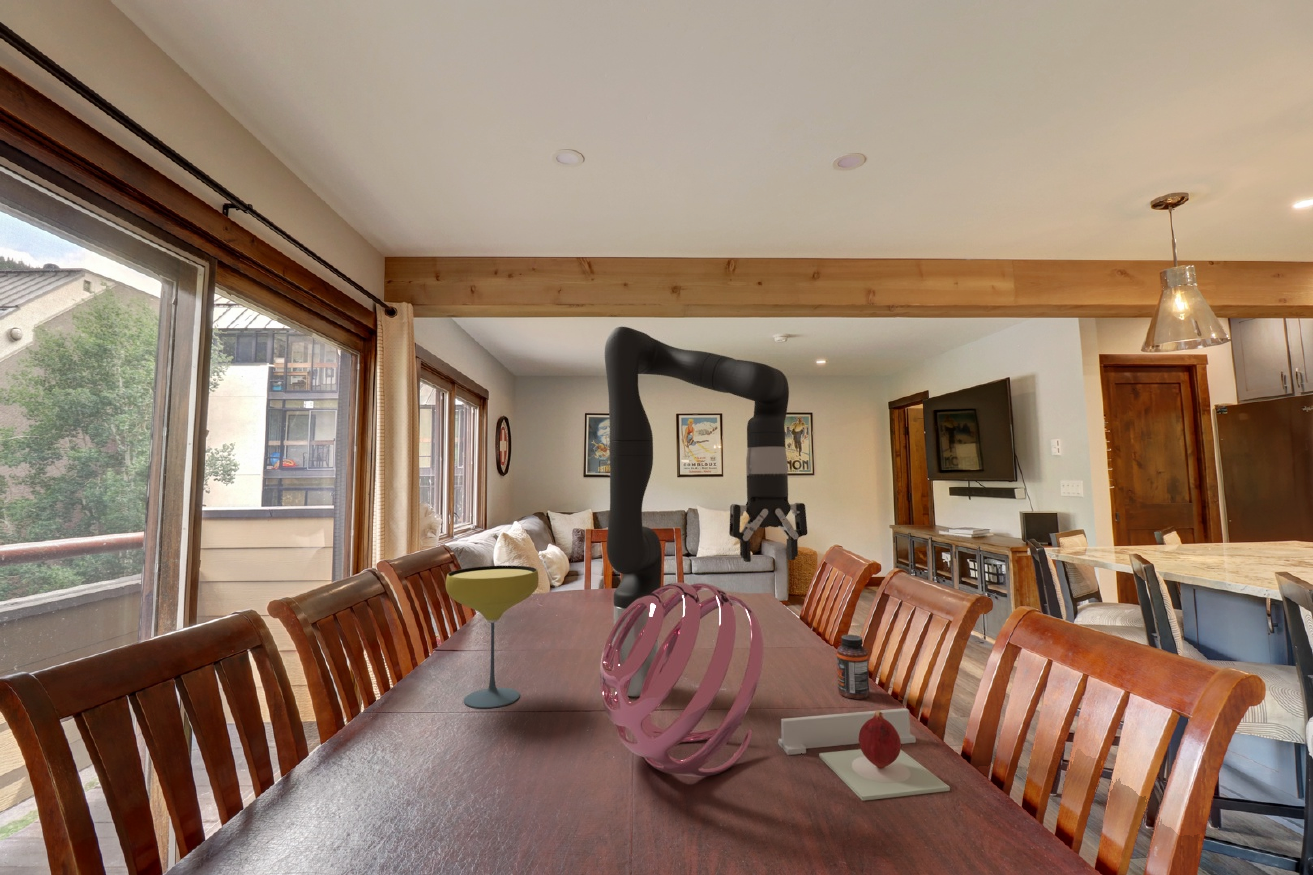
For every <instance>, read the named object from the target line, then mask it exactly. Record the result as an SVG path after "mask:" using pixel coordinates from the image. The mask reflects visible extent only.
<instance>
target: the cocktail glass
mask: <svg viewBox="0 0 1313 875" xmlns="http://www.w3.org/2000/svg"><path fill="white" fill-rule="evenodd" d="M539 578H540V577H539V571H538V569H537V568H535V567H531V566H526V565H525V566H524V565H486V566H475V567H473V566H472V567H467V568H461V569H456V570H453V571H450V572H448V573H447V575H446V578H445V590H446V593H447V595H448V596H449V597H450V598H451V599H452V600H453V601H455V602H457V603H458V604H461V605H463V606H465V607H467V608H469V609H471V610H474V611H476V612H478V613H479V614H481V615H482V616H483V618H484V619H485V620H486V622H488V623H490V627H491V628H490V630H491V631H490V669H489V670H490V672H489V673H490V674H489V675H490V676H489V683H488V688H483V689H479V690H477V691H473V692H471V693H470V694H467V695H466V696H465V697H464V698H463V703H464V705H466V706H467V707H469V706H471V707H470V708H473V707H474V709H485V710H486V709H495V708H501V707H504V706H508V705H511V704H513V703H515V702H516V701H518V700H519V699H520V696H521V693H520V691H519V690H516V689H514V688H509V687H497V685H496V680H495V678H496V677H495V623H497V622H498V621H499V620H500V619H501V618H502V616H503V614H504V613H505V612H506V611H508V610H510V609H511V608H513V607H514V606H516V605H518V604H520V603H522V602H523V601H525V600H526V599H528V598H529V597H531V596H532V594H534V593H535V591H536V590H537V589H538V586H539Z"/></svg>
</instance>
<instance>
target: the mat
mask: <svg viewBox="0 0 1313 875" xmlns="http://www.w3.org/2000/svg"><path fill="white" fill-rule="evenodd" d="M818 756H819V757H818V758H820V760H822V761H823V762H824V763H825V764H826V765H827V766H828V767H829V768H830V769H831V771H833V772H834V773H835V774H836V775H837V776H838V777H839V778H840V779H841V781H842V782H843V783H845V785H847V787H848V788H849V789H850V790H852V792H853V793H854V794H855V795H857V797H858V798H859V799H860V800H861V801H862V802H863V801H873V800H879V799H880V800H881V799H889V798H899V797H907V796H915V795H923V794H932V793H933V794H934V793H941V792H943V793H944V792H950V791H951V788H950V786H949V785H948V784H946V783H945V782H944V781H943V780H941V779H940V778H938V777H937V776H936V775H935V774H933V773H932V772H931V771H930V770H928V769H927V768H925V767H924V766H923V764H920V763H919V762H918V761H916V760H915V759H914V758H913V757H911V755H909V754H907V753H906V752H905V751H903V750H902V749H901V750H900V753H899V756H898V757H897V759H896V760H895V761H894V762H893V763H891V764H890V765H888V766H886V767H884V768H878V767H876V766H875V765H874V764H872V763H871V762H870V761H869V760H868V759H867V758H866V757H865V756H864V754H863V753H862V751H861V748H858V749H850V750H849V749H848V750H840V751H839V750H837V751H829V752H828V751H827V752H820V753H818Z"/></svg>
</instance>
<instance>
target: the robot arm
mask: <svg viewBox="0 0 1313 875" xmlns="http://www.w3.org/2000/svg"><path fill="white" fill-rule="evenodd" d="M604 364H605V371H606V381H607V390H608V391H607V392H608V410H609V411H608V412H609V413H608V414H609V415H608V416H609V418H608V419H609V441H608V442H609V447H608V448H609V454H608V455H609V515H608V525H607V526H608V527H607V535H606V555H607V559H608V562H609V564H610V566H611V568H612V569H614V570H615V572H617V573H619V574H621V575H622V577H621V580H620V583H619V585H618V586H617V588H616V589H615V590H614V591H613V626H614V625H615V623H616V621H617V620H618V618H619V617H620V616H621V614H622V613H623V612H624V611H625V610H626V609H627V607H628V606H629V605H631V604H632V603H633V602H634V601H635V600H637V599H638V598H640V597H641V596H643V595H646V594H649V593H652V592H653V591H655V590H656V589H658V588H660V587H662V571H663V570H662V567H663V566H662V565H663V559H662V558H663V557H662V556H663V555H662V554H663V552H662V551H663V550H662V543H661V541H660V540H661V539H660V538H659V536H658V534H657V533H656V532H655V531H654V530H653V529H652V528H650V527H647V526H643V504H644V503H643V502H644V496H645V493H646V490H647V487H648V484H649V481H650V479H651V478H650V477H651V474H652V470H653V466H654V442H653V441H654V438H653V430H652V427H651V424H650V420H649V418H648V415H647V413H646V411H645V410H646V409H645V408H644V404H643V403H642V400H641V399H642V398H641V396H640V390H639V375H649V376H650V375H653V376H662V377H663V376H664V377H669V378H674V379H678V380H680V381H682V382H685V383H688V384H691V385H694V386H697V387H700V388H704V389H707V390H710V391H715V392H718V393H724V394H731V395H734V396H737V397H740V398H743V399H746V400H749V401H753V402H754V406H753V407H754V409H753V416H752V417H751V418H750V419H749V420H748V421H747V424H746V443H747V444H746V446H747V448H746V449H747V450H746V457H745V458H746V459H745V460H746V461H745V462H746V463H745V465H746V467H745V469H746V470H745V471H746V472H745V473H746V499H747V500H746V504H737V503H732V504H731V505H730V506H729V507H730V508H729V510H730V511H729V512H730V513H729V531H728V532H729V536H730V537H733V538H736V539H738V541H739V550H740V551H739V555H740V558H741V559H743V562H746V563H751V561H752V560H751V559H752V557H751V553H752V551H751V541H750V540H749V539H751V537H752V535H753V534H754V533H755V532H756V531H757V530H758V528H762V529H763V528H764V529H765V528H769V527H770V528H779V529H781V530H782V531H783V532H784V534H785V535H786V537H787V538H786V559H787V560H789V561H795V560H796V558H797V557H798V554H799V550H798V549H799V546H798V545H799V544H798V540H799V538H802V537H803V536H807V535H808V524H807V513H806V512H807V511H806V505H805V503H804V502H803V503H802V502H795V503H791V504H790V501H789V478H788V477H789V476H788V475H789V474H788V473H789V472H788V471H789V466H788V456H787V450H786V428H785V422H786V417H787V413H788V412H787V411H788V405H789V398H790V388H789V383H788V379H787V377H786V375H785V374H784V373H783V371H781V370H779V369H777V368H776V367H772V366H770V365H768V364H765V363H761V362H757V361H751V360H743V359H742V360H741V359H737V358H733V357H730V356H727V355H722V354H718V353H713V352H707V351H701V350H693V349H691V350H690V349H684V348H683V349H682V348H678V347H675V346H672V345H669V344H666V343H664V342H662V341H660V340H658V339H656V338H654V337H651V336H650V335H649V334H647V333H645V332H643V331H639V330H637V329H634V328H632V327H628V326H618V327H616V328H614V329H613V330H612V331H611V332H610V333H609V335H608V336H607V338H606V341H605V344H604ZM745 512H746V514H747V515H748V517H749V518H748V519H747V521H746V522H745V524H744V526H743V528H742V530H741V517H742V516H744V513H745ZM790 512H791V513H792V515H794V522H795V523H794V524H795V528H794V527H793V524H792V523H791V522H790V520H789V519H788V518H787V517H788V515H789V513H790ZM634 610H635V609H634ZM634 610H633V611H634ZM633 611H632V612H633ZM632 612H631V613H632ZM631 613H630V614H629V615H628V616H627V618H626V619H625V620H624V622H623V623H622V625H621V626H620V628H619V630H618V631H617V633H616V635H615V637H614V639H613V642H612V645H613V644H614V642H615V640H616V638H617V636H618V634H619V632H620V630H621V628H622V627H623V625H624V624H625V622H626V621H627V619H628V618H629V616H630V615H631ZM647 619H648V608H647V609H646V610H645V611H644V612H643V613H642V615H641V616H640V617H639V618H638V620H637V621H636V623H635V624H634V626H633V627H632V629H631V630H630V632H629V634H628V636H627V637H626V639H625V641H624V643H623V645H622V647H621V649H620V652H619V653H620V661H621V664H623V663H624V662H625V660H626V658H627V656H628V654H629V651H630V649H631V647H632V645H633V643H634V642H635V640H636V638H637V636H638V635H639V633H640V631H641V630H642V628H643V627H644V625H645V624H646V622H647ZM658 650H659V638H658V639H657V641H656V643H655V645H654V647H653V649H652V651H651V653H650V655H649V656H648V658H647V659H646V661H645V662H644V664H643V665H642V667H641V668H640V669H639V670H638V671H637V673H636V674H635V675H634V676H633V677H632V678H631V681H630V684H629V688H628V692H627V696H628V697H640V694H641V691H642V687H643V684H644V681H645V678H646V675H647V673H648V670H649V668H650V666H651V664H652V662H653V659H654V657H655V656H656V654H657V652H658ZM613 691H614V693H616V690H615V688H613Z"/></svg>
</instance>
